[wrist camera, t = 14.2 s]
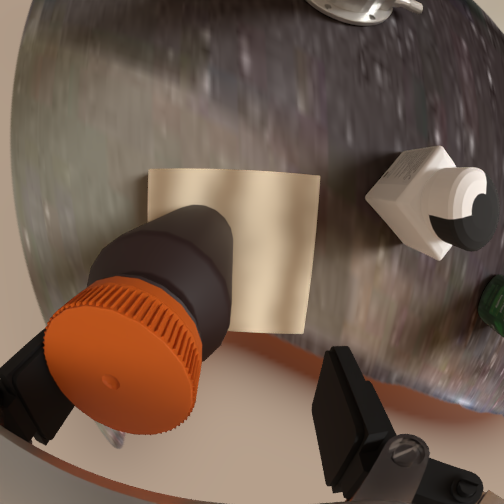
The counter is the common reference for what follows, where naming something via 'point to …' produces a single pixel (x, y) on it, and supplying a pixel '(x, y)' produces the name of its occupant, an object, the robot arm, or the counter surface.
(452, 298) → the counter surface
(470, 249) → the container
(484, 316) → the coffee jar
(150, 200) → the plate
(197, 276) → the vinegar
